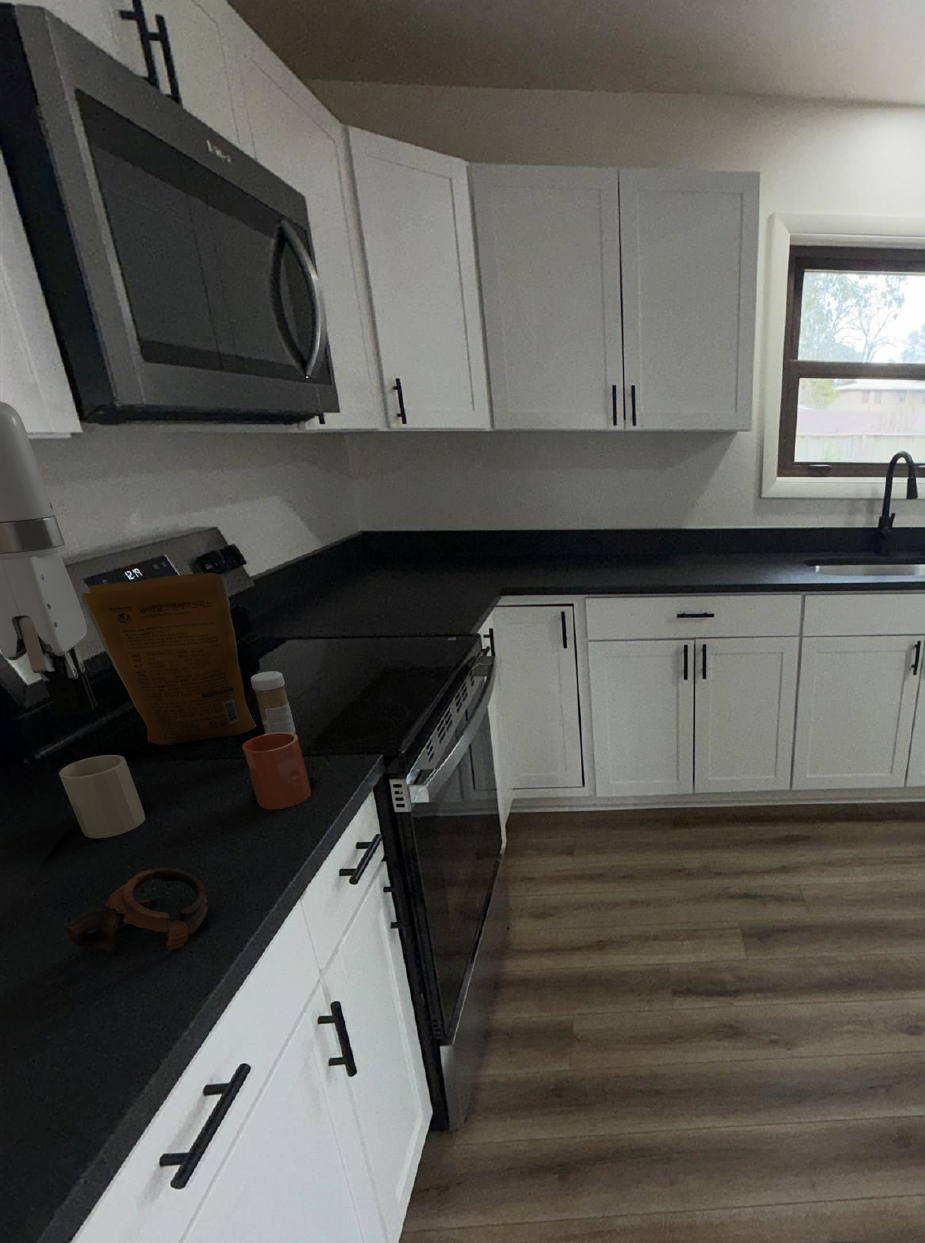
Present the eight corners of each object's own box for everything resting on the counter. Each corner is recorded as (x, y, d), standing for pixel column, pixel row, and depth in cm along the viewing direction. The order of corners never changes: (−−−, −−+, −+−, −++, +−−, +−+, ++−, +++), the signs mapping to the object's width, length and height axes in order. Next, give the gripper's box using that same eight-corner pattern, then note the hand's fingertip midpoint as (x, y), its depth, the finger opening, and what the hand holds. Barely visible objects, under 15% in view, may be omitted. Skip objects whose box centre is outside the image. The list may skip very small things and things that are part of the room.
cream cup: (75, 842, 96) (50, 782, 92) (92, 817, 102) (69, 759, 98) (138, 832, 98) (116, 772, 94) (151, 808, 104) (131, 751, 100)
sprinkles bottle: (271, 748, 123) (251, 672, 117) (301, 743, 124) (282, 668, 119) (269, 759, 119) (248, 681, 113) (300, 754, 121) (281, 677, 115)
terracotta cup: (254, 813, 103) (238, 755, 99) (261, 791, 109) (245, 736, 105) (309, 804, 105) (295, 747, 101) (312, 783, 111) (299, 729, 107)
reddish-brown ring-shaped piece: (168, 902, 85) (186, 850, 82) (213, 958, 82) (233, 907, 79) (41, 939, 74) (56, 881, 71) (87, 1005, 71) (105, 948, 68)
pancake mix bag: (262, 735, 128) (219, 574, 116) (133, 753, 121) (74, 584, 109) (266, 722, 133) (225, 567, 122) (143, 738, 127) (87, 576, 115)
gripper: (-5, 530, 76) (57, 694, 84) (-72, 552, 64) (8, 743, 72) (82, 526, 79) (135, 686, 87) (34, 547, 67) (101, 731, 74)
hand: (78, 711), depth 79 cm, fingers closed
